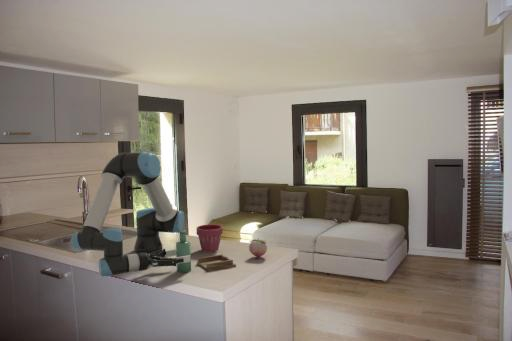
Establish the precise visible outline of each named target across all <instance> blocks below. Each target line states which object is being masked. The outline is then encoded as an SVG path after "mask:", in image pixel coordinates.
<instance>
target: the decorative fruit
mask: <svg viewBox="0 0 512 341" xmlns="http://www.w3.org/2000/svg"><path fill="white" fill-rule="evenodd" d="M248 250H249V252H250V253H251V254H252V255H253V256H255V257H257V258H260V257H263V256H264V255H265V254H266V253H267V250H268V245H267V241H265V240H263V239H251V240H250V241H249V246H248Z"/></svg>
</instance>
